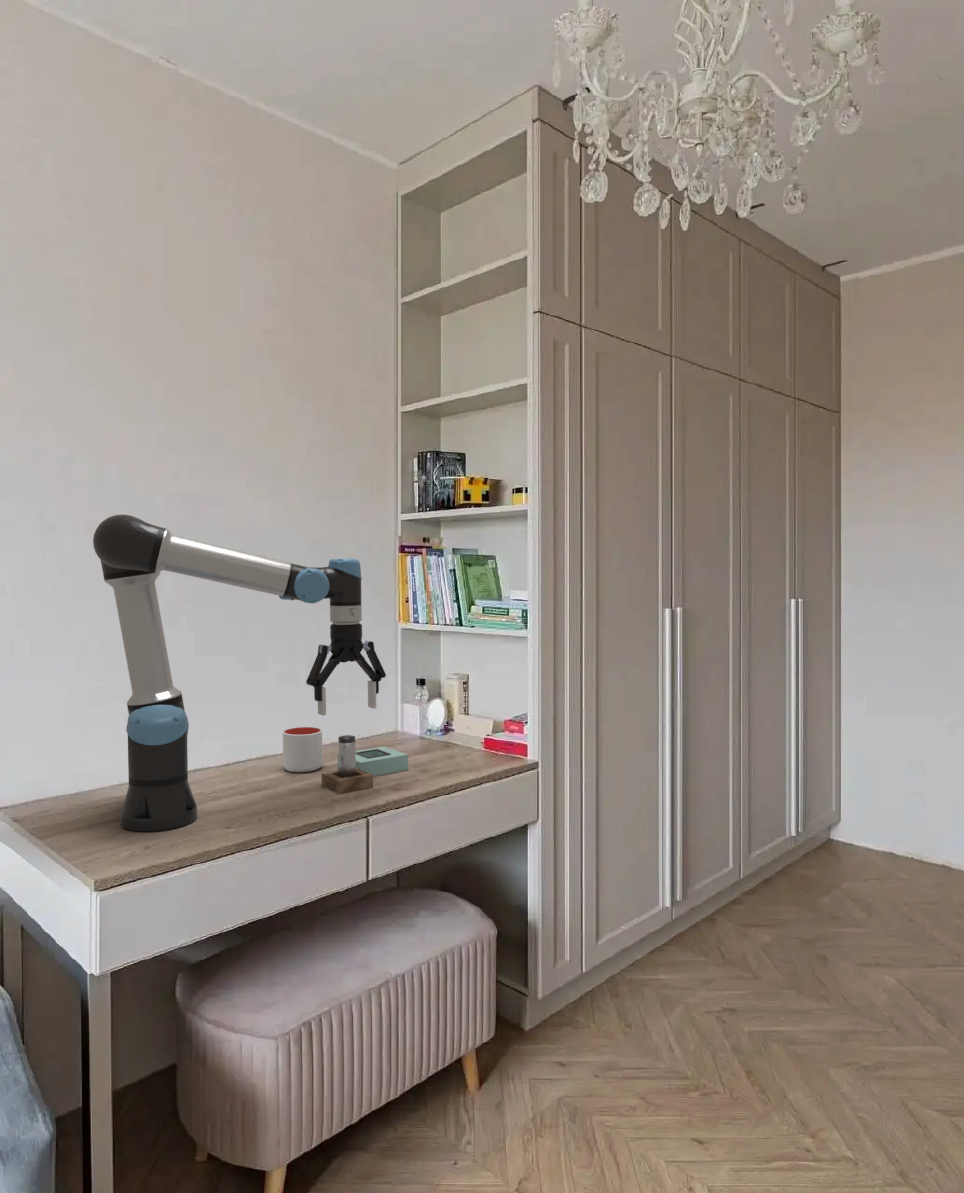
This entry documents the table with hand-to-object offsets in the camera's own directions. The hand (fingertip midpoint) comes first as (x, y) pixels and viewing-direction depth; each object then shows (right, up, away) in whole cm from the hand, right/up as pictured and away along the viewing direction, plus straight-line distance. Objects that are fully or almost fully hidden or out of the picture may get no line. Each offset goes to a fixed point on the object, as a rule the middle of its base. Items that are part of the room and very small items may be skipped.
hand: (347, 711), depth 202 cm
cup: (-15, -18, +18) cm, 29 cm away
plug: (0, -18, +1) cm, 18 cm away
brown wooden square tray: (0, -18, +1) cm, 18 cm away
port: (+4, -17, +17) cm, 24 cm away
